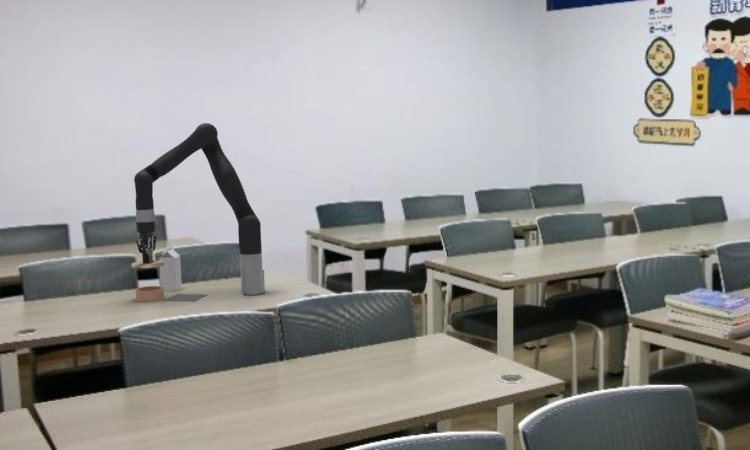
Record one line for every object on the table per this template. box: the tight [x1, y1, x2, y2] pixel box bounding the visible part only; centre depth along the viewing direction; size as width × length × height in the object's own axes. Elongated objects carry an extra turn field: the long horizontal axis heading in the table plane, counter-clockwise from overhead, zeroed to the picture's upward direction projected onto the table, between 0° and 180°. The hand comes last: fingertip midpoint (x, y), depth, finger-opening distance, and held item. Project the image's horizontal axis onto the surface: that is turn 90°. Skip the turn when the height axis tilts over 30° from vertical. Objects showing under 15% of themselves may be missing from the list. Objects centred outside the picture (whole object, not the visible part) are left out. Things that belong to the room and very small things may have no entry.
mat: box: [163, 293, 209, 303], centre depth 342 cm, size 14×14×1 cm
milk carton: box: [158, 246, 183, 292], centre depth 359 cm, size 7×7×19 cm
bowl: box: [135, 285, 165, 303], centre depth 340 cm, size 11×11×5 cm
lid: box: [131, 248, 164, 269], centre depth 338 cm, size 13×13×7 cm
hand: (148, 261), depth 339 cm, fingers closed on lid, 3 cm apart
